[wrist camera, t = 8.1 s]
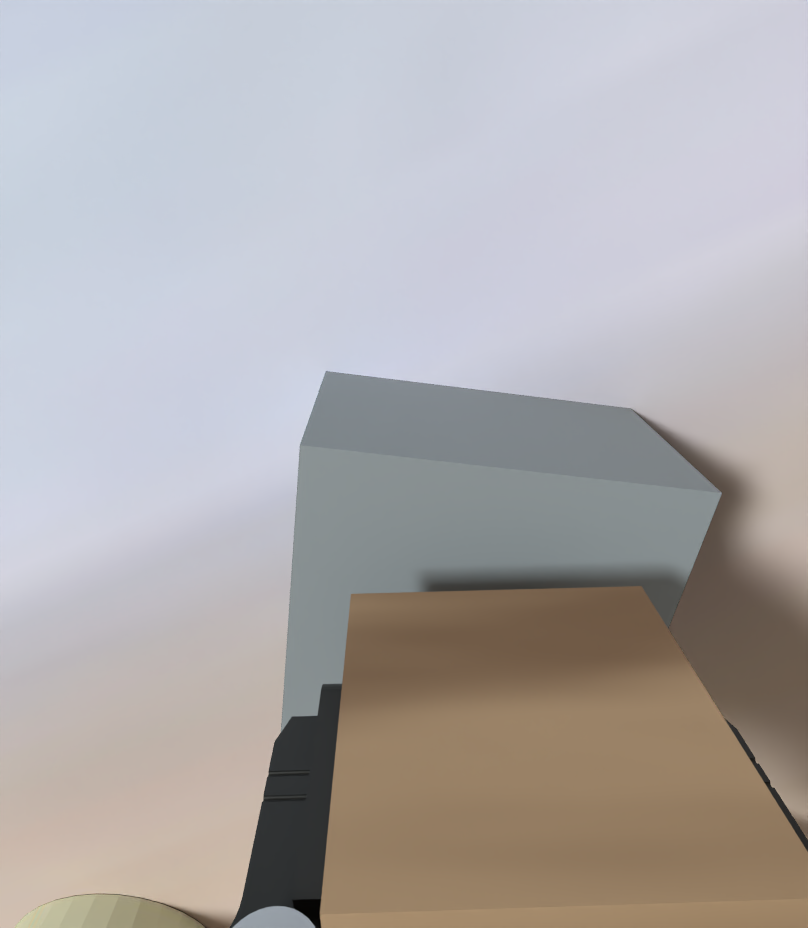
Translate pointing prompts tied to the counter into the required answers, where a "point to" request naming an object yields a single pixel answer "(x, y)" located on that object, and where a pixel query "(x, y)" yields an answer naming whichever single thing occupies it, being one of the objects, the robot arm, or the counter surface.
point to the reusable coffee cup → (106, 914)
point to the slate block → (476, 507)
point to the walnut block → (543, 773)
